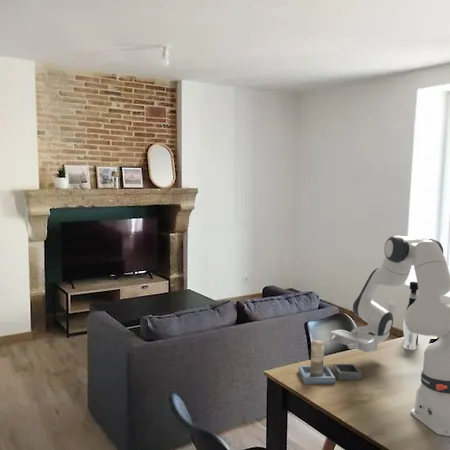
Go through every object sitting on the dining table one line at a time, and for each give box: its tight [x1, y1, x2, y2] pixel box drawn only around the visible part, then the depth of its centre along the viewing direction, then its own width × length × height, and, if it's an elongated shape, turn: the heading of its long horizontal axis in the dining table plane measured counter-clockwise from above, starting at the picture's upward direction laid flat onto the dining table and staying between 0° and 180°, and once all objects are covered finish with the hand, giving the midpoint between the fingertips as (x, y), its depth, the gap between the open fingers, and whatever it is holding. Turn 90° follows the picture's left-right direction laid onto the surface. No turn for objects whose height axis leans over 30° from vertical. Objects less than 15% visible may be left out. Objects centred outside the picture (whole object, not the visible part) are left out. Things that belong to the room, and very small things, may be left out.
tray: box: [298, 365, 336, 385], centre depth 201 cm, size 12×12×2 cm
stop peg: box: [310, 339, 325, 377], centre depth 201 cm, size 5×5×14 cm
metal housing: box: [332, 363, 362, 381], centre depth 204 cm, size 9×9×3 cm
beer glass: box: [402, 315, 419, 351], centre depth 236 cm, size 7×7×15 cm
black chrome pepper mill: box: [405, 281, 419, 345], centre depth 244 cm, size 6×6×30 cm
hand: (339, 343), depth 207 cm, fingers open, 8 cm apart
